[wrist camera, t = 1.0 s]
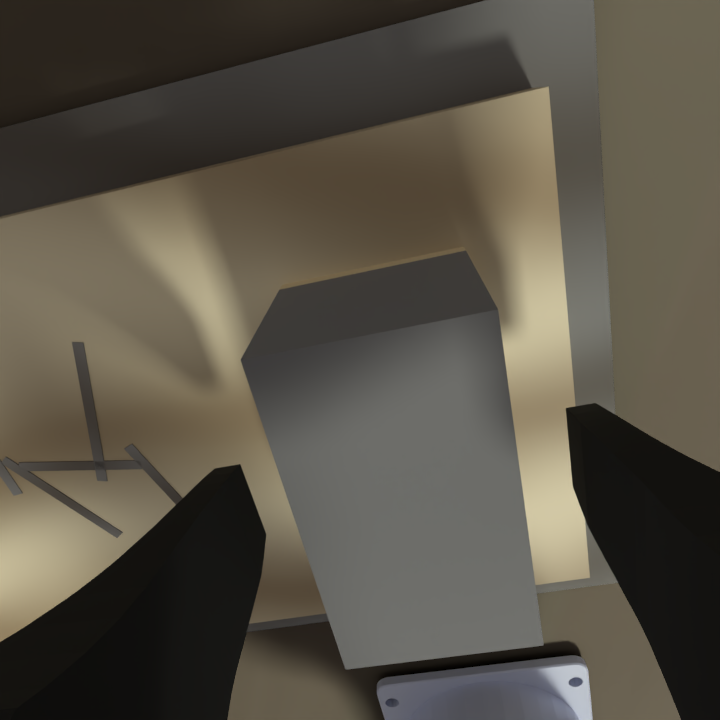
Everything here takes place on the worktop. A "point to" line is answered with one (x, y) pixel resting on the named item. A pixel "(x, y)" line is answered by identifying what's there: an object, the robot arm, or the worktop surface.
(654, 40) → the worktop surface
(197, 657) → the robot arm
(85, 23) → the worktop surface
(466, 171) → the pine board
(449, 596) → the block
